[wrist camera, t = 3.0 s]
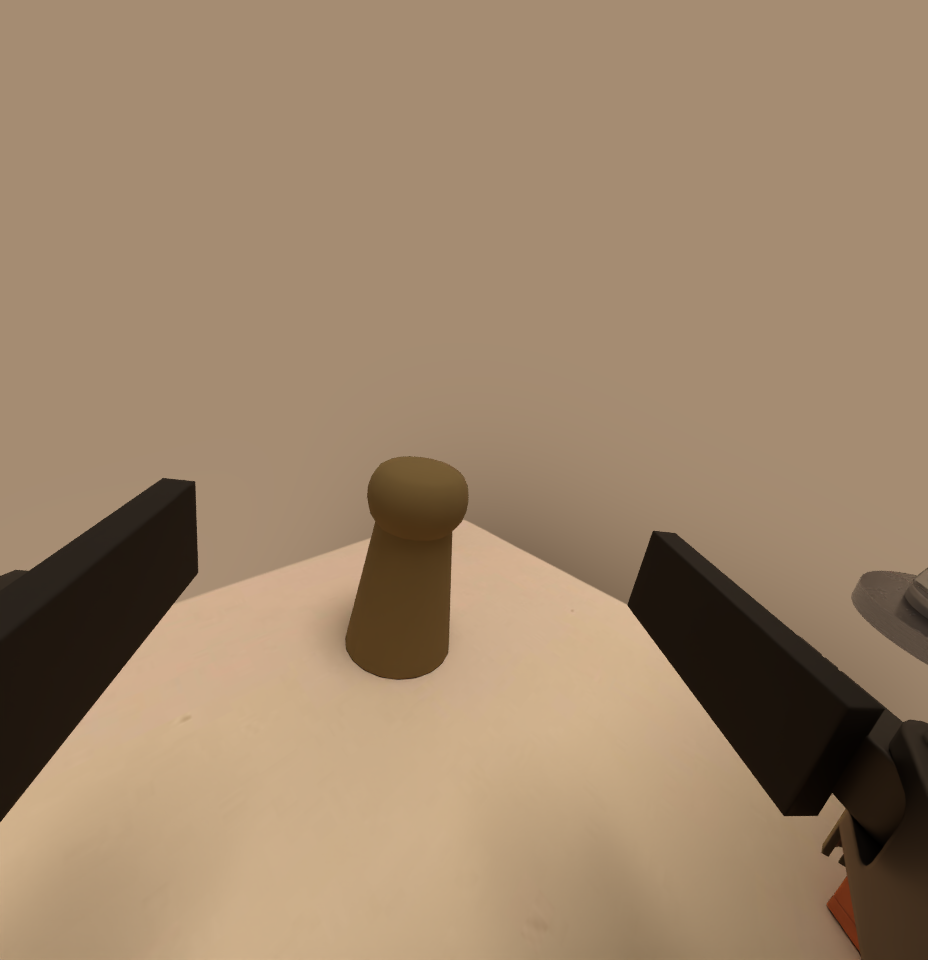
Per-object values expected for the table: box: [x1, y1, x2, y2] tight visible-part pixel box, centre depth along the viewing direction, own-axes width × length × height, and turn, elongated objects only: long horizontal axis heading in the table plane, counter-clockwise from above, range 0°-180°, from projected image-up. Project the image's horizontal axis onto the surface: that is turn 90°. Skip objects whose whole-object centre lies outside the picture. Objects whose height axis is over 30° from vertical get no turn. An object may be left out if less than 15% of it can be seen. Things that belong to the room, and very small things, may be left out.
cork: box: [346, 456, 468, 679], centre depth 25 cm, size 6×6×11 cm
